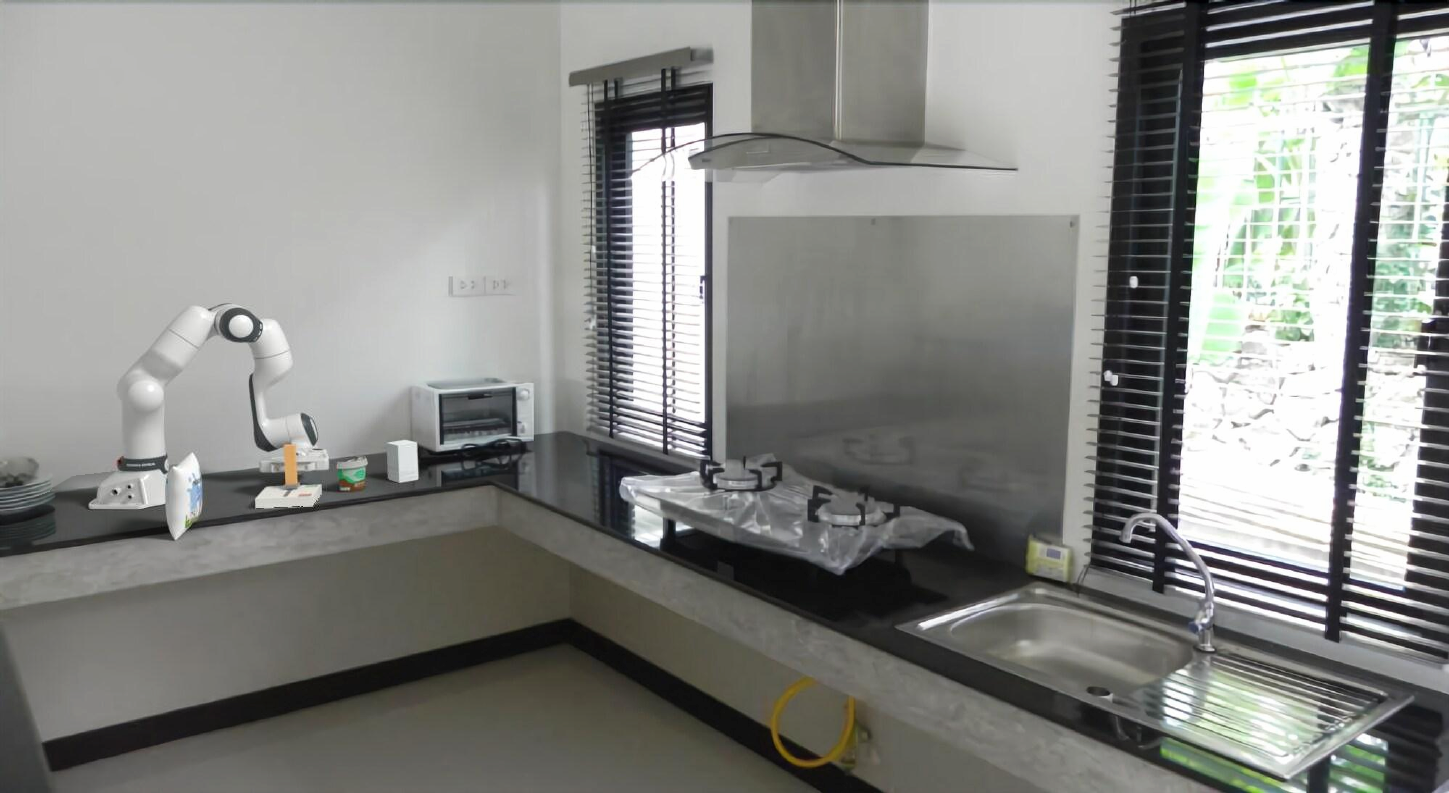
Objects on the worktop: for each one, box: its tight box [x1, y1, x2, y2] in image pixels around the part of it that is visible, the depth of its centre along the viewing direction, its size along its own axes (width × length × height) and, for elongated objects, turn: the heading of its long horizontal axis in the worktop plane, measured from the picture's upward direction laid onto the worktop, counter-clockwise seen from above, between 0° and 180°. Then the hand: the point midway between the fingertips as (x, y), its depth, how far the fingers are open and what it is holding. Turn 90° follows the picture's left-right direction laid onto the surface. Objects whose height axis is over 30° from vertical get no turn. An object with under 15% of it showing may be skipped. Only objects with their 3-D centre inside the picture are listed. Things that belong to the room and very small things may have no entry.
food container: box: [336, 454, 369, 493], centre depth 336 cm, size 12×6×10 cm, turn 168°
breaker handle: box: [282, 444, 301, 489], centre depth 324 cm, size 4×5×13 cm
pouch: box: [164, 452, 203, 542], centre depth 286 cm, size 8×19×20 cm, turn 9°
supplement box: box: [386, 439, 419, 483], centre depth 350 cm, size 7×7×13 cm
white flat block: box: [254, 483, 323, 509], centre depth 321 cm, size 16×16×3 cm
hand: (290, 469), depth 323 cm, fingers open, 8 cm apart
